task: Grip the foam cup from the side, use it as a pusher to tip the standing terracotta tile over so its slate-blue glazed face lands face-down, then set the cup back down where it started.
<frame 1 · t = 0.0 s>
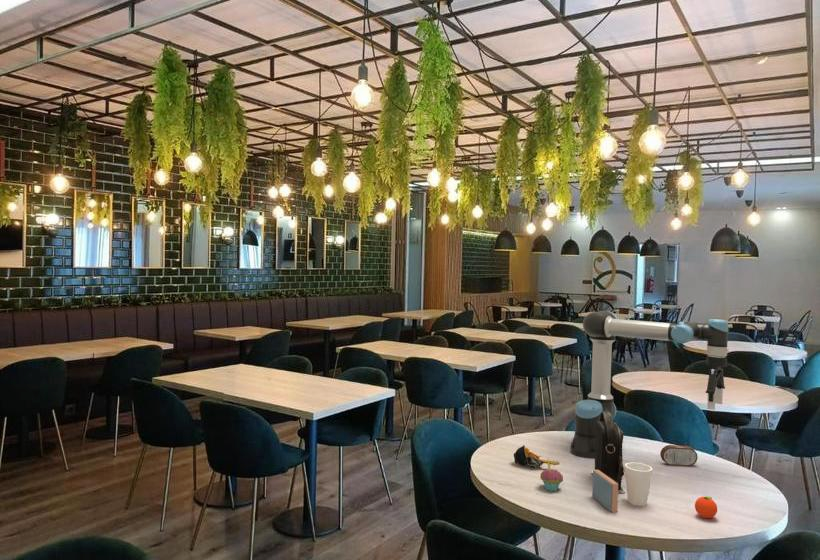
hand: (714, 406, 241), 28 cm above the table, tool pointing down, fingers open, 13 cm apart
foam cup: (637, 502, 208), on the table
cupcake: (551, 489, 219), on the table
fried shrimp in bowl: (534, 467, 242), on the table
clementine: (706, 517, 197), on the table
shoulder bag: (606, 482, 228), on the table
tile: (604, 504, 206), on the table
tin: (678, 465, 249), on the table
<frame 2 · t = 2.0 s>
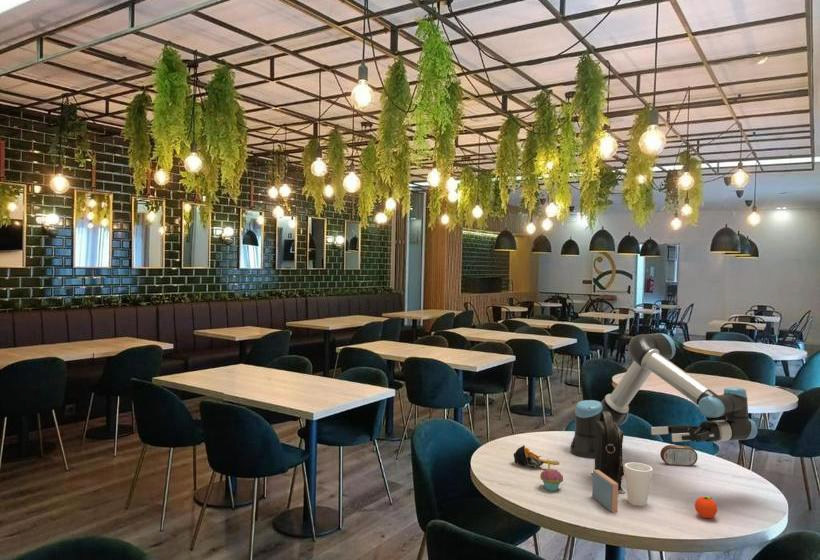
hand: (661, 434, 212), 24 cm above the table, tool horizontal, fingers open, 13 cm apart
nothing on the table moved.
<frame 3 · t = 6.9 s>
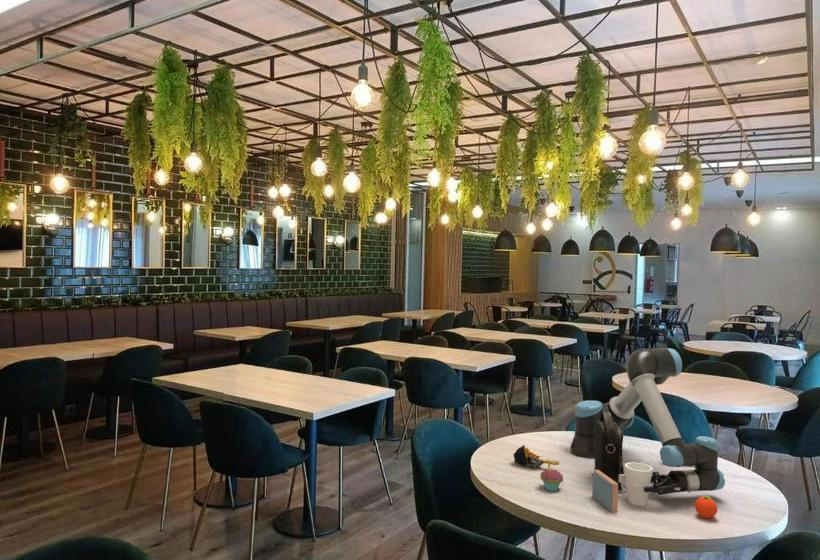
hand: (626, 483, 207), 7 cm above the table, tool horizontal, fingers closed on foam cup, 9 cm apart
foam cup: (637, 502, 208), on the table, touching gripper
everything else where it was.
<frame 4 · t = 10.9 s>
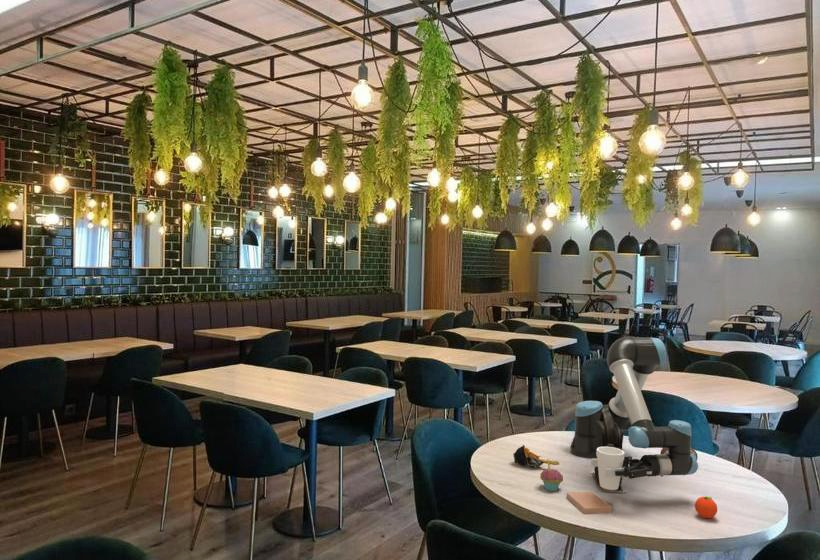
hand: (598, 467, 205), 13 cm above the table, tool horizontal, fingers closed on foam cup, 9 cm apart
foam cup: (609, 487, 206), point 6 cm above the table, touching gripper
tile: (601, 502, 206), point 1 cm above the table, tilted 90°
everything else where it was.
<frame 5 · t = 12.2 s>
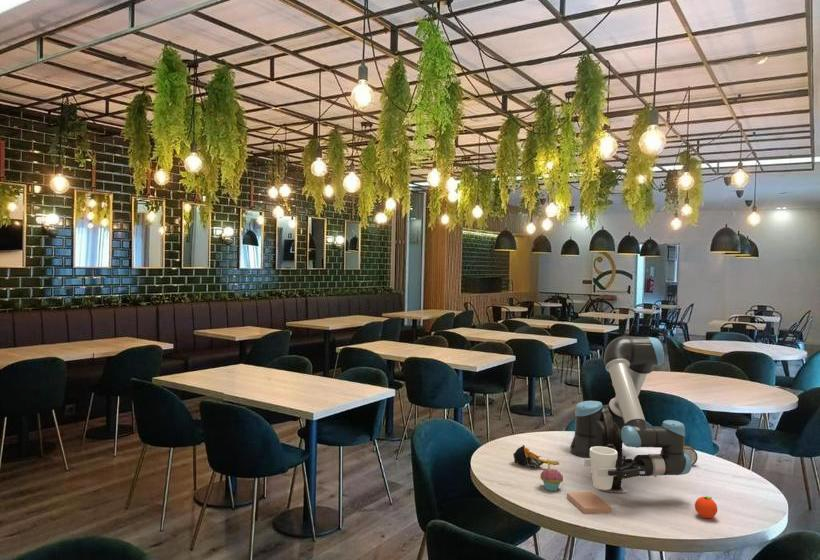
hand: (591, 467, 205), 13 cm above the table, tool horizontal, fingers closed on foam cup, 9 cm apart
foam cup: (602, 486, 206), point 6 cm above the table, touching gripper
everything else where it was.
when the fingers open (8 cm above the table, at t = 15.8 s): foam cup drops 1 cm, on the table.
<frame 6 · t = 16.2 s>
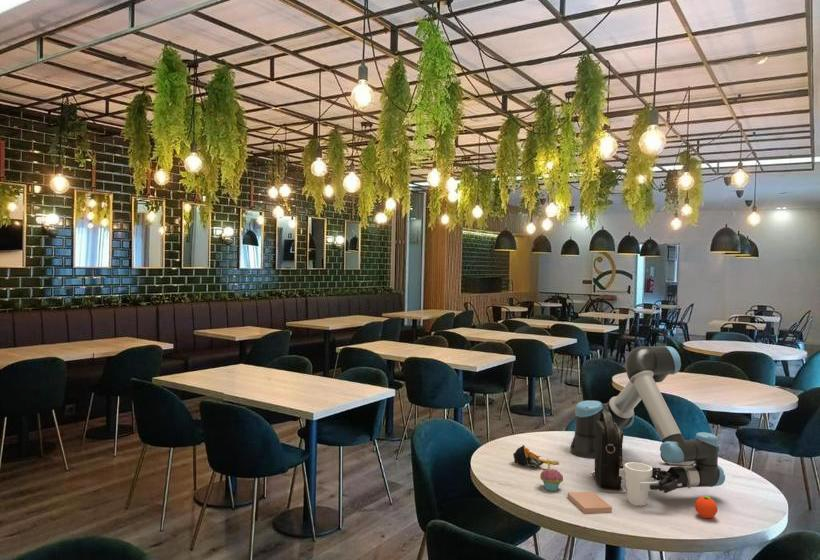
hand: (629, 479, 207), 8 cm above the table, tool horizontal, fingers open, 13 cm apart
foam cup: (637, 502, 208), on the table
everything else where it was.
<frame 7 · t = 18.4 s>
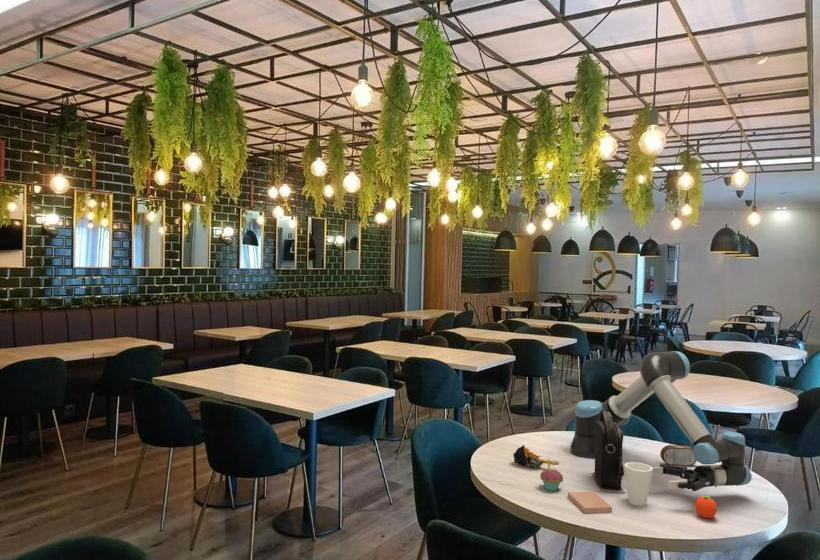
hand: (657, 478, 209), 9 cm above the table, tool horizontal, fingers open, 13 cm apart
nothing on the table moved.
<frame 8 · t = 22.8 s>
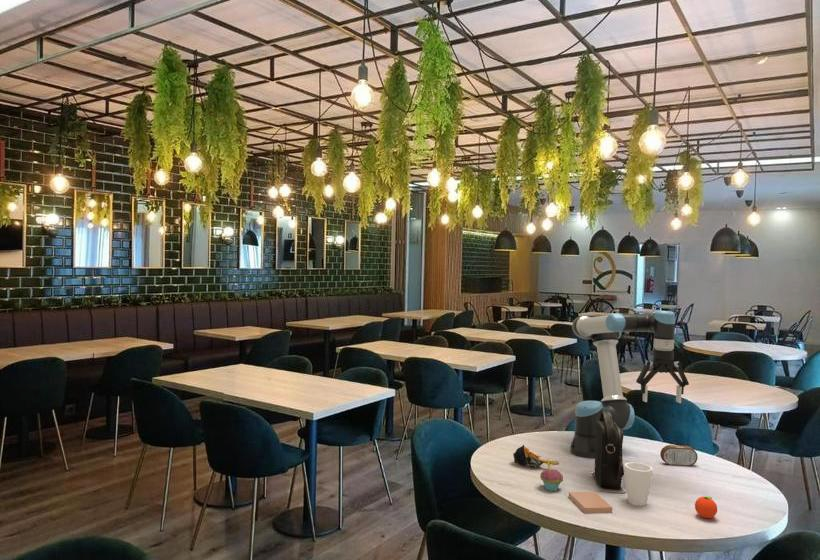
hand: (661, 401, 230), 32 cm above the table, tool pointing down, fingers open, 13 cm apart
nothing on the table moved.
at the end: tile tilted 90°; foam cup inside the target area (0.1 cm from its centre), on the table; foam cup tilted 0° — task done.
